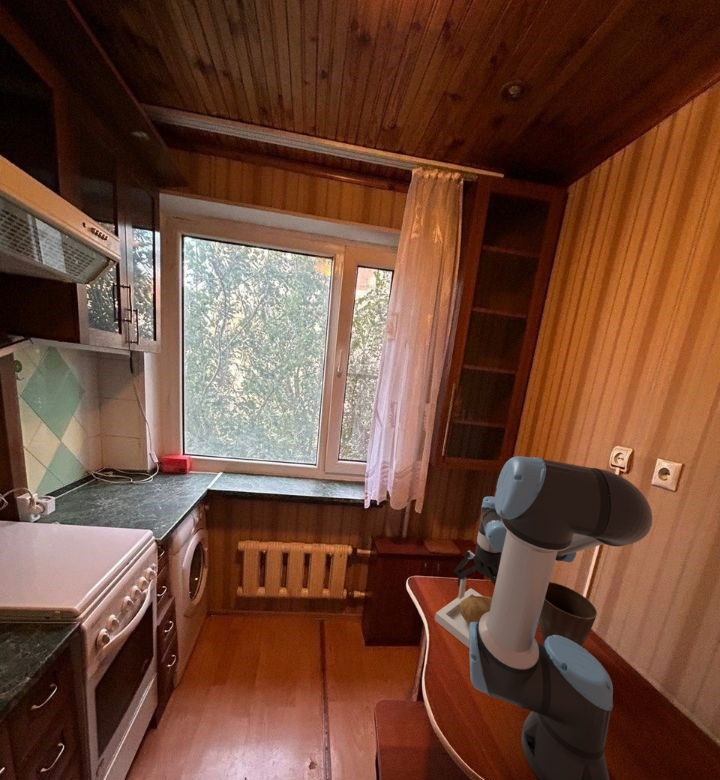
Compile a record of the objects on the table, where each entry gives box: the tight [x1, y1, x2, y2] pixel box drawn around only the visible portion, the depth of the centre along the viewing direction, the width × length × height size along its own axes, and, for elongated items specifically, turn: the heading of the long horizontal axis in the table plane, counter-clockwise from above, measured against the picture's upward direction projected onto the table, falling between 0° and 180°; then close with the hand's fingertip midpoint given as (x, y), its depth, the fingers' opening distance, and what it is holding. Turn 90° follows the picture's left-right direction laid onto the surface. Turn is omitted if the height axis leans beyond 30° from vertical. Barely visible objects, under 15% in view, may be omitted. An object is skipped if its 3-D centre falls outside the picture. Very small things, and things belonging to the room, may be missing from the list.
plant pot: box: [538, 581, 598, 647], centre depth 92 cm, size 15×15×16 cm
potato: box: [460, 595, 493, 625], centre depth 97 cm, size 10×14×8 cm
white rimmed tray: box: [434, 587, 483, 649], centre depth 98 cm, size 22×18×3 cm
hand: (480, 610), depth 97 cm, fingers open, 13 cm apart
